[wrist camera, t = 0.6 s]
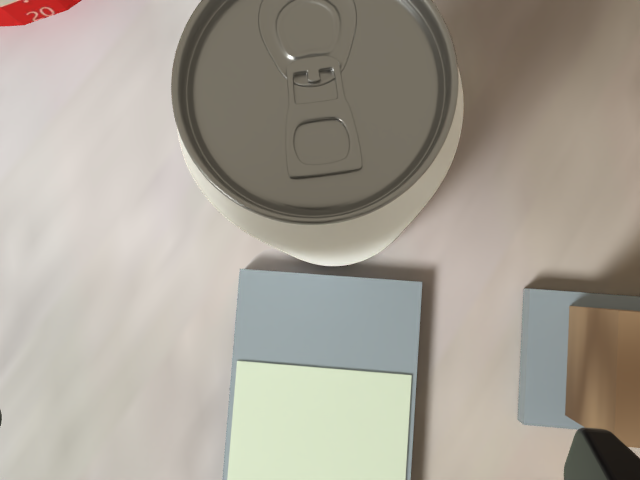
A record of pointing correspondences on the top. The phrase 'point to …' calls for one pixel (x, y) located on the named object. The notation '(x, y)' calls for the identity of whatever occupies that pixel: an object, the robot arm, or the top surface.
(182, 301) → the top surface
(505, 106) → the top surface
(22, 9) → the kitchen timer
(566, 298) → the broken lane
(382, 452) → the plate
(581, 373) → the walnut cube
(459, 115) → the can
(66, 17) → the top surface
